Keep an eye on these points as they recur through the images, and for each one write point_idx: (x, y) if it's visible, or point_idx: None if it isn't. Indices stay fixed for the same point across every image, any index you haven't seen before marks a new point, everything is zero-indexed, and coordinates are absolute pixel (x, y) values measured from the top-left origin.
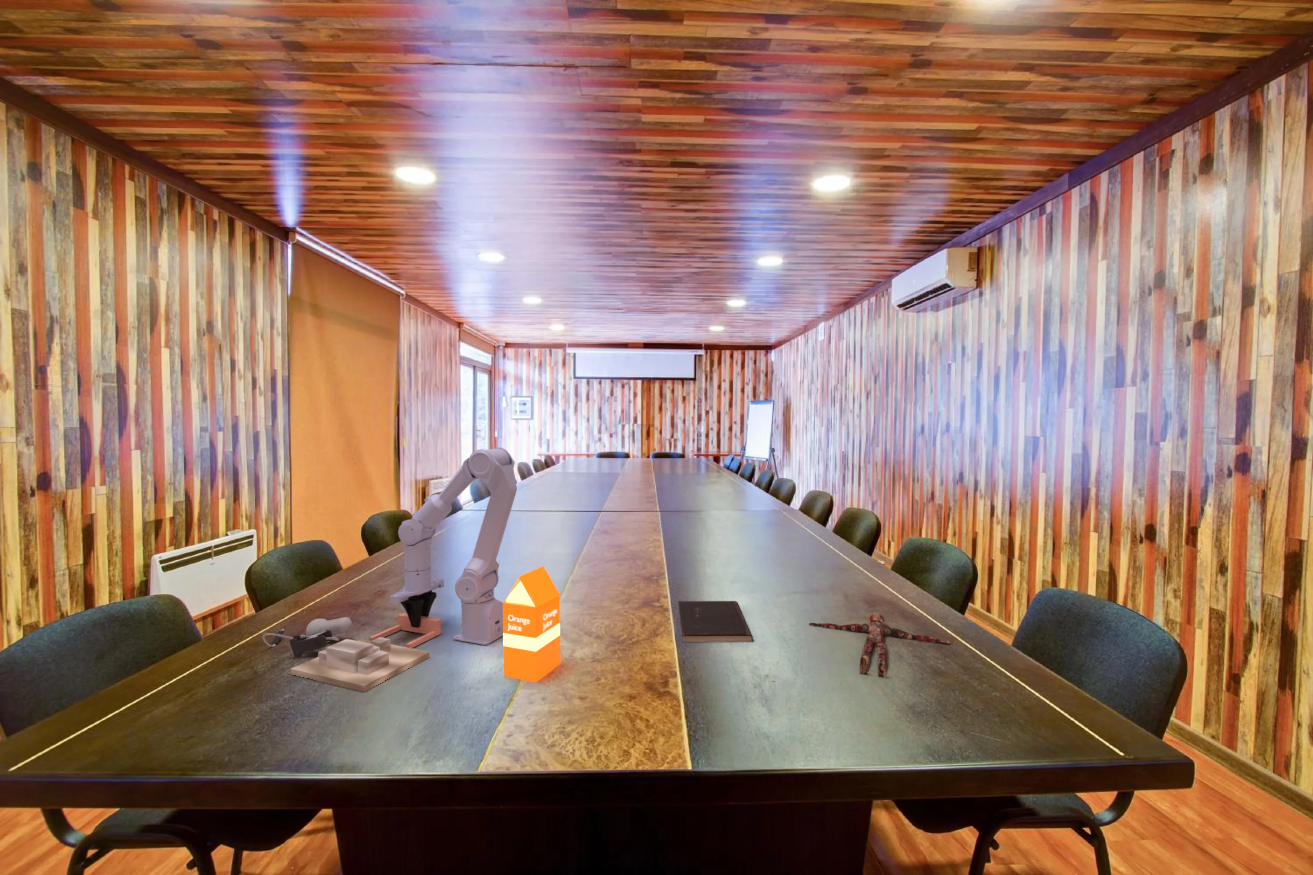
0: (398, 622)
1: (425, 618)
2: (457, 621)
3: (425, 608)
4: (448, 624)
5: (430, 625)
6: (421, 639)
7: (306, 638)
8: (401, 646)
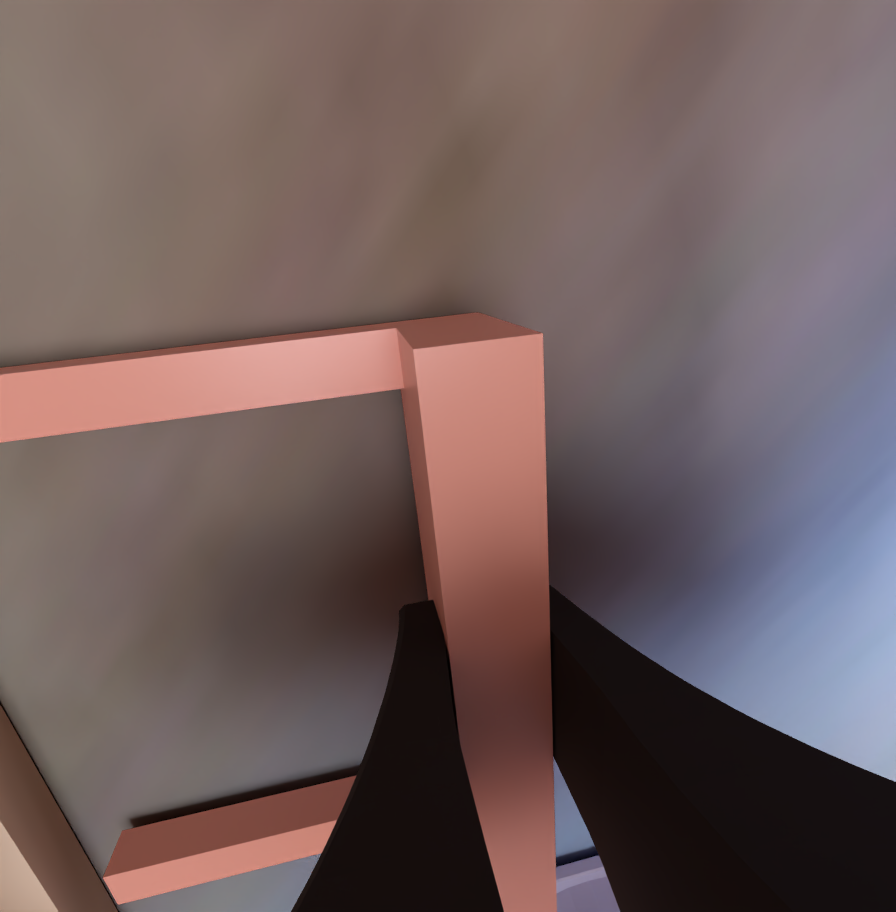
0: (402, 354)
1: (501, 804)
2: (776, 630)
3: (612, 867)
4: (700, 628)
5: None
6: (278, 853)
7: None
8: (47, 890)
